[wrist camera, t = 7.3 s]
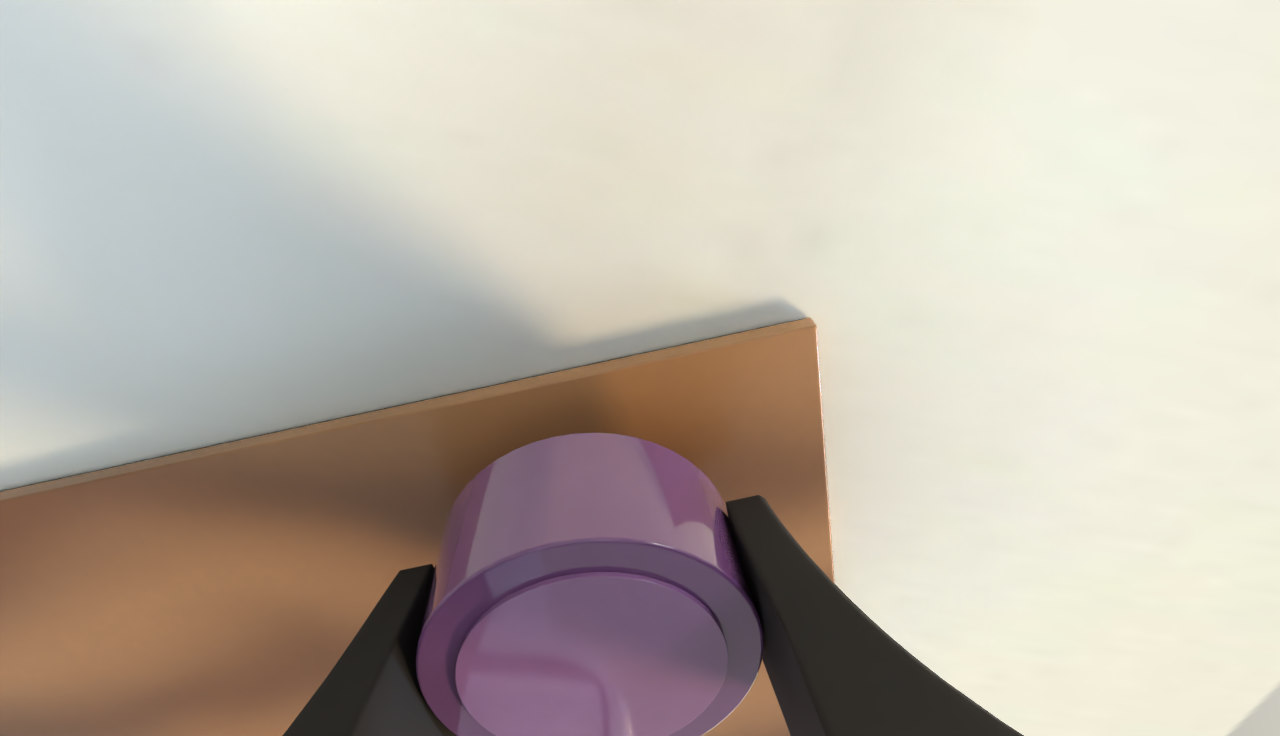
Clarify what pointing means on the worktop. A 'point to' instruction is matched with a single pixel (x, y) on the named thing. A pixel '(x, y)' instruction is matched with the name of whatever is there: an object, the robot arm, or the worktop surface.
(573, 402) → the mat
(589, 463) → the dish top
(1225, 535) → the worktop surface
